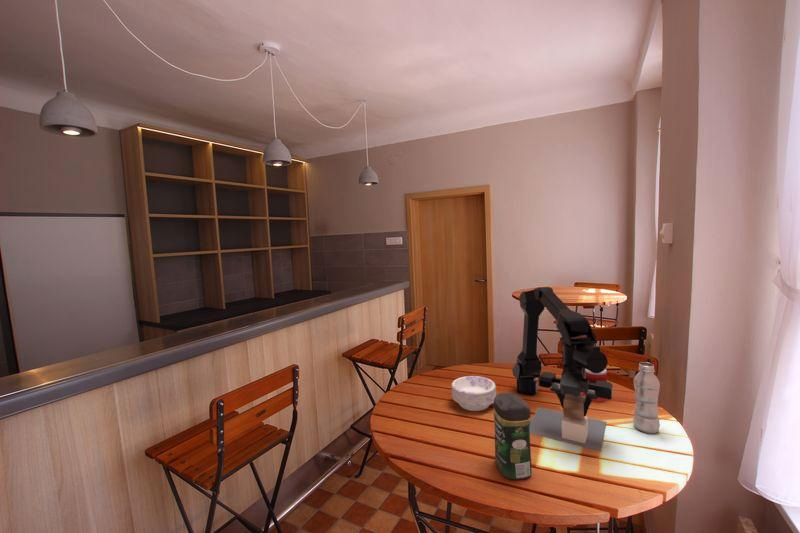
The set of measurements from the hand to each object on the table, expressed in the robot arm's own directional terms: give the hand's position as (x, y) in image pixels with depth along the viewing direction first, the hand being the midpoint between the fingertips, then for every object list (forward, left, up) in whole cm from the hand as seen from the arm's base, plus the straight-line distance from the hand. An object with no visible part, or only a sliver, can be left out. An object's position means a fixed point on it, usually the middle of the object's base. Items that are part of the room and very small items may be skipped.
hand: (574, 413), depth 102 cm
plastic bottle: (+17, +14, -7) cm, 23 cm away
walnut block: (0, 0, 0) cm, 0 cm away
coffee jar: (-11, -23, -7) cm, 27 cm away
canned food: (+2, +30, -7) cm, 31 cm away
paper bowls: (-33, +5, -7) cm, 34 cm away
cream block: (0, 0, -7) cm, 7 cm away
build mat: (-3, +4, -7) cm, 9 cm away
